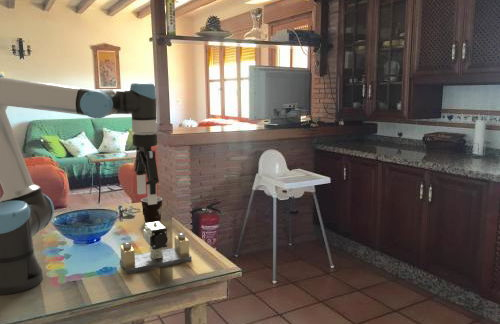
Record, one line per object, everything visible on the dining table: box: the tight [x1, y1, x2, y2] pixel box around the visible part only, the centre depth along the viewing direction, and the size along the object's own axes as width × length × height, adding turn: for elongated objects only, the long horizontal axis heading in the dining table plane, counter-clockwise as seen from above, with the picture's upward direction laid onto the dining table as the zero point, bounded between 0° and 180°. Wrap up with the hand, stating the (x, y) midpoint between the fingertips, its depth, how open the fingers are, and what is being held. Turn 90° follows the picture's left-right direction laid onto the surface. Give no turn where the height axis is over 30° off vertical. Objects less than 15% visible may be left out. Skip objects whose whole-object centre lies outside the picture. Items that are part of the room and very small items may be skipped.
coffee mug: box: [140, 196, 163, 224], centre depth 179 cm, size 12×9×10 cm
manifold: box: [119, 232, 193, 275], centre depth 141 cm, size 21×10×8 cm, turn 118°
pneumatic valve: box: [142, 221, 168, 260], centre depth 140 cm, size 6×12×12 cm, turn 28°
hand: (146, 198), depth 139 cm, fingers open, 13 cm apart
